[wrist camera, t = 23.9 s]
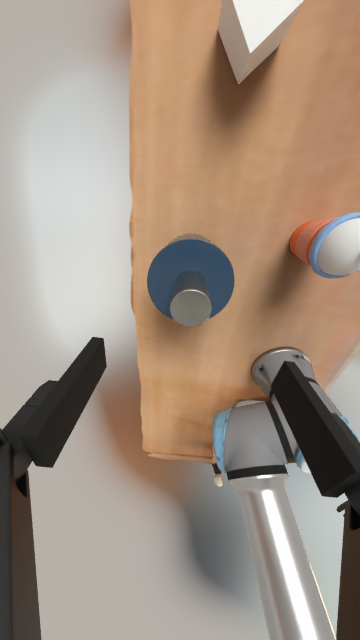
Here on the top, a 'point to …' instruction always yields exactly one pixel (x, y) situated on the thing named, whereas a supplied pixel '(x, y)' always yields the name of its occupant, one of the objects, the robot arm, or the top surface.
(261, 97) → the top surface
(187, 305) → the tin lid
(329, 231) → the cup with straw
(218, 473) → the grandmother figurine
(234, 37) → the white cube
